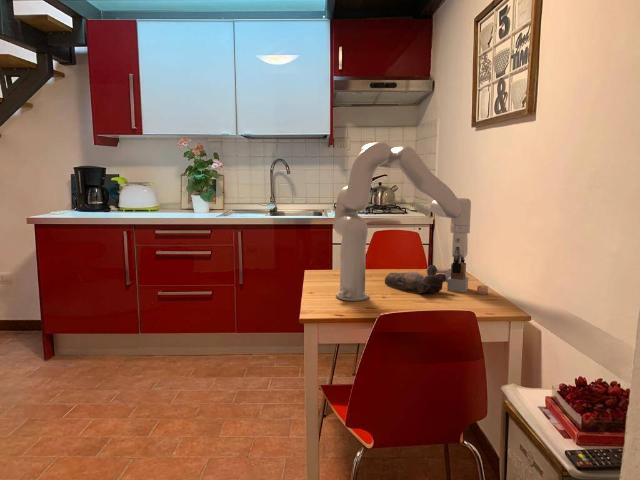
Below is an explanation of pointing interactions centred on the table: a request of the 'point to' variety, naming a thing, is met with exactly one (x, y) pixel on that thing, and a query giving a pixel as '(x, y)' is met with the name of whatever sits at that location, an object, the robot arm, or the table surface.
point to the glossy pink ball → (482, 290)
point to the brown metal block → (459, 275)
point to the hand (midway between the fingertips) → (458, 270)
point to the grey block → (457, 285)
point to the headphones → (438, 271)
